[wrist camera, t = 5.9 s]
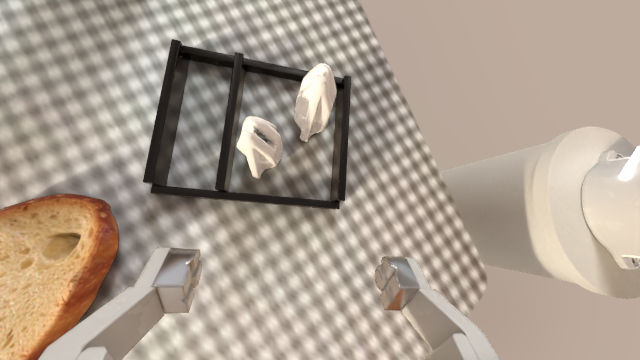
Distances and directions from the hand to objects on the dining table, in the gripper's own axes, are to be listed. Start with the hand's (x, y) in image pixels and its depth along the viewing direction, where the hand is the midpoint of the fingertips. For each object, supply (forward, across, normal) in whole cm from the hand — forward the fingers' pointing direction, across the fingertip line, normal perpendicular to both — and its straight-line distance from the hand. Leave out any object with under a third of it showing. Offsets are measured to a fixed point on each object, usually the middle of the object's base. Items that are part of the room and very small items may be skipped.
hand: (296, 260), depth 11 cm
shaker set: (+19, 0, +3) cm, 19 cm away
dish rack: (+19, +3, +3) cm, 19 cm away
